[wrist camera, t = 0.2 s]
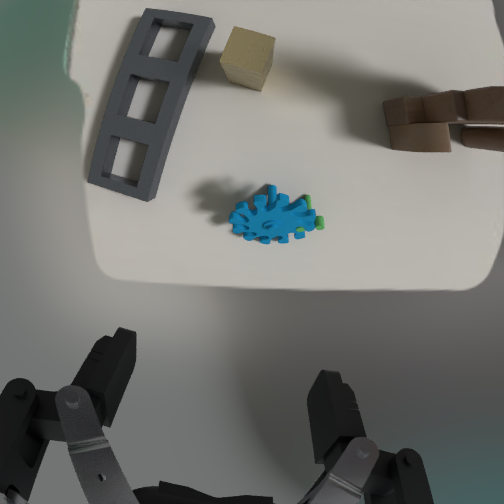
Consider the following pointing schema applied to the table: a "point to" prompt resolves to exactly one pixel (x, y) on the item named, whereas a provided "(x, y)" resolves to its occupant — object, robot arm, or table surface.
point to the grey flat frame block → (171, 108)
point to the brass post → (248, 58)
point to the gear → (275, 218)
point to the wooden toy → (446, 120)
